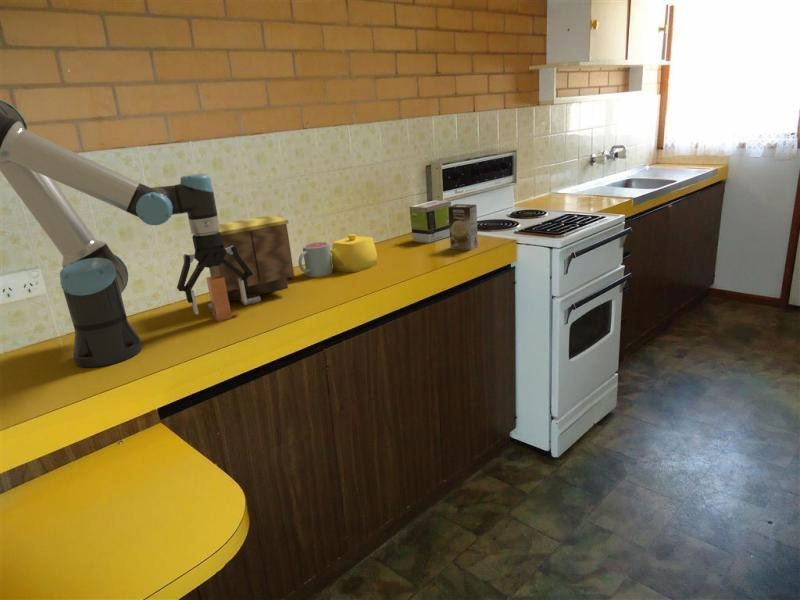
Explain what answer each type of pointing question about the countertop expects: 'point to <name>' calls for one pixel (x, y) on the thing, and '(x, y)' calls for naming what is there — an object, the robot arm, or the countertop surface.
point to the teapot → (353, 253)
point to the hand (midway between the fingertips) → (221, 307)
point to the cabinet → (256, 255)
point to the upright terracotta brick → (218, 298)
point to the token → (251, 298)
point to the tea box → (430, 221)
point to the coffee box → (463, 226)
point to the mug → (316, 259)
